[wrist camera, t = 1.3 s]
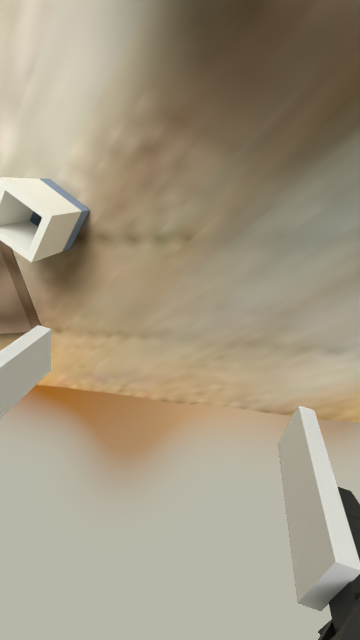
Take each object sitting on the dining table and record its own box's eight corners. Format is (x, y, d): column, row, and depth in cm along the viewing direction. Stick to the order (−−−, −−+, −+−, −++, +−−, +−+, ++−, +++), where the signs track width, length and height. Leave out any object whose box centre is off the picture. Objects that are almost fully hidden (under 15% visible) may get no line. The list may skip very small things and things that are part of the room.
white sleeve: (32, 220, 38) (-16, 228, 31) (49, 179, 36) (0, 177, 29) (70, 248, 39) (31, 262, 32) (89, 209, 36) (52, 215, 29)
